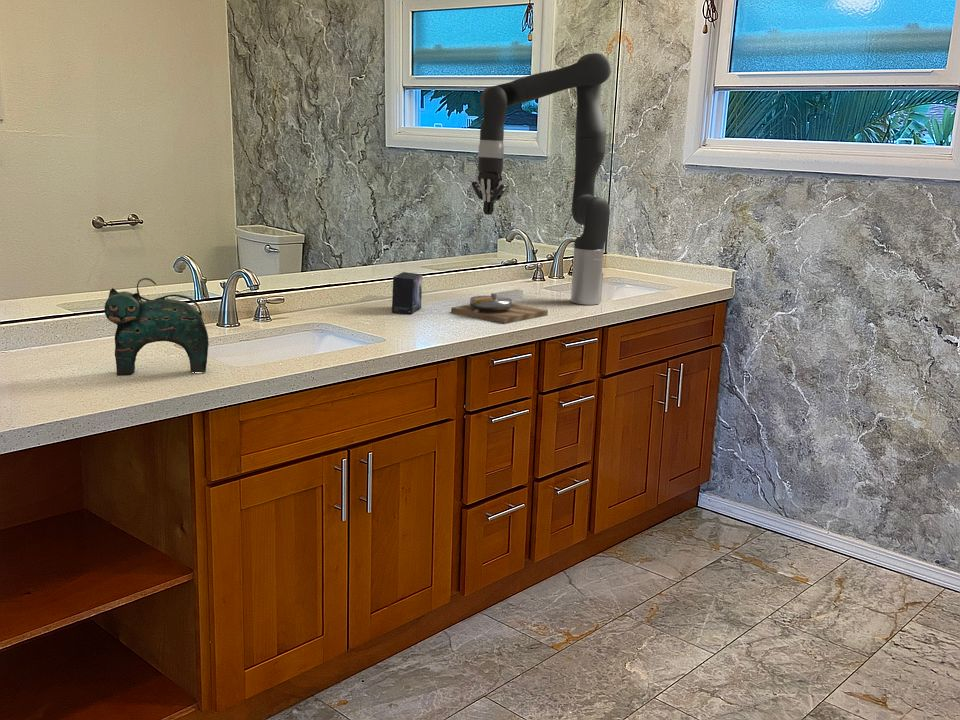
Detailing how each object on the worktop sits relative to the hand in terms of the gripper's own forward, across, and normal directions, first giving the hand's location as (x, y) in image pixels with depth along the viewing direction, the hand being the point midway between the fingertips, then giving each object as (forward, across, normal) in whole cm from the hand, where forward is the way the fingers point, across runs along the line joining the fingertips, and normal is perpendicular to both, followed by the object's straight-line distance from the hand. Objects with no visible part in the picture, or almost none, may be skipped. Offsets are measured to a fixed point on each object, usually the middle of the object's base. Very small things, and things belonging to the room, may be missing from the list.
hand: (488, 214), depth 289 cm
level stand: (+27, +15, -11) cm, 33 cm away
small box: (+27, -5, -29) cm, 40 cm away
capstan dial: (+25, +14, -11) cm, 31 cm away
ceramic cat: (+27, +11, -119) cm, 123 cm away
